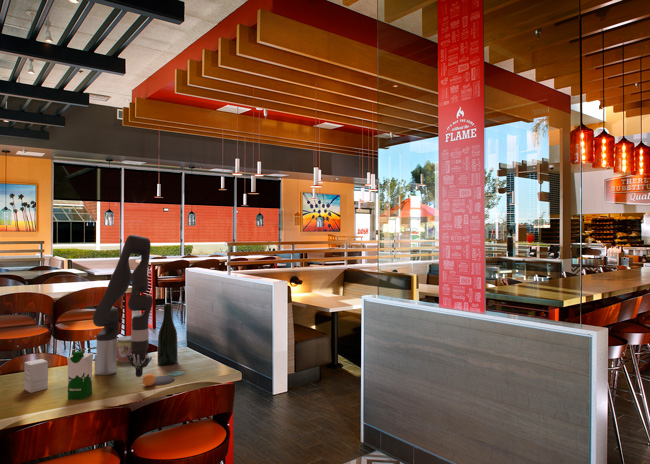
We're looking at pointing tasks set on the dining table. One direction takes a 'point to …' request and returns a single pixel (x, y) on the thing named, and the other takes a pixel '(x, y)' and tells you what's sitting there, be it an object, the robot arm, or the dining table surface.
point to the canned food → (123, 348)
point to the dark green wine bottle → (167, 339)
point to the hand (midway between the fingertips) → (138, 376)
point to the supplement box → (36, 375)
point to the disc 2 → (176, 373)
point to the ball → (148, 379)
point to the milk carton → (79, 375)
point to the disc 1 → (163, 380)
